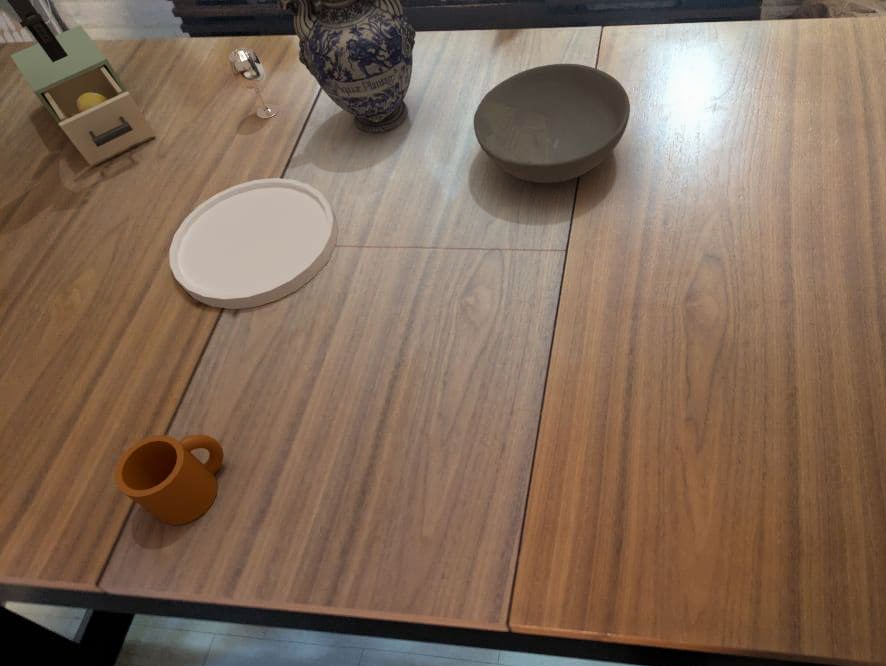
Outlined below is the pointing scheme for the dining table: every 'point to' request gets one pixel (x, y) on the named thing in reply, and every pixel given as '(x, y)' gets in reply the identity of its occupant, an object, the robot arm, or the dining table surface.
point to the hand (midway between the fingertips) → (47, 42)
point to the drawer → (98, 116)
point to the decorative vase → (358, 56)
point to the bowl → (552, 121)
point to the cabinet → (61, 64)
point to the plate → (253, 243)
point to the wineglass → (251, 76)
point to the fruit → (89, 101)
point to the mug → (170, 476)
